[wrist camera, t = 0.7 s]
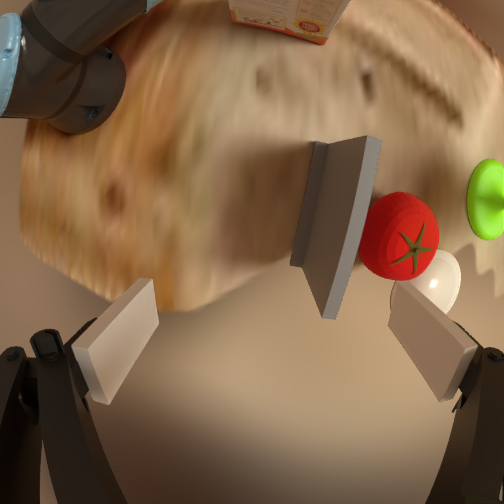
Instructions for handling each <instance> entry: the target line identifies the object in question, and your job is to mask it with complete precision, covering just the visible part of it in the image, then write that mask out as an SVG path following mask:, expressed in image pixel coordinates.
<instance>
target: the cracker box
mask: <svg viewBox="0 0 504 504" xmlns="http://www.w3.org/2000/svg"><path fill="white" fill-rule="evenodd" d="M350 1H351V0H228V3H229V8H230V13H231V18H232V22H236V23H242V24H247V25H252V26H257V27H261V28H266V29H270V30H274V31H278V32H282V33H286V34H289V35H293V36H296V37H300V38H303V39H306V40H309V41H312V42H315V43H318V44H321V45H324V44H325V43H326V41H327V39H328V38H329V36H330V34H331V32H332V31H333V29H334V27H335V26H336V24H337V22H338V21H339V19H340V17H341V16H342V14H343V12H344V11H345V9H346V7H347V6H348V4H349V2H350Z"/></svg>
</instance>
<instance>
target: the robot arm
mask: <svg viewBox="0 0 504 504" xmlns="http://www.w3.org/2000/svg"><path fill="white" fill-rule="evenodd" d="M162 1H163V0H33V1H32V2H30V3H29V5H28V6H27V7H26V8H25V9H24V10H23V11H22V12H21V13H20V14H19V15H18V14H16V13H7V14H4V15H3V16H1V18H0V118H25V119H43V120H45V121H47V122H48V123H49V124H51V125H52V126H54V127H55V128H56V129H58V130H60V131H62V132H65V133H72V134H82V133H86V132H89V131H91V130H93V129H95V128H97V127H98V126H100V125H101V124H102V123H103V122H104V121H105V120H106V119H107V118H108V117H109V116H110V115H111V114H112V112H113V111H114V110H115V108H116V106H117V105H118V103H119V101H120V99H121V96H122V94H123V91H124V87H125V81H126V71H125V66H124V63H123V61H122V59H121V58H120V56H119V55H118V54H116V53H115V52H114V51H112V50H110V49H109V48H107V47H104V46H100V45H101V44H102V43H103V42H105V41H106V40H107V39H109V38H110V37H111V36H112V35H114V34H115V33H116V32H118V31H119V30H121V29H122V28H123V27H125V26H126V25H128V24H129V23H130V22H132V21H133V20H135V19H136V18H138V17H139V16H141V15H142V14H146V13H148V12H149V10H150V9H151V8H152V7H154V6H155V5H157V4H159V3H160V2H162ZM158 324H159V321H158V315H157V308H156V301H155V294H154V287H153V279H150V278H139V279H138V280H137V281H136V282H135V283H134V284H133V285H132V286H131V287H130V288H129V289H127V290H126V291H125V292H124V293H123V294H122V295H121V296H120V297H119V298H118V299H117V300H116V301H115V302H114V303H113V304H112V305H111V306H110V307H109V308H108V309H107V310H106V311H105V312H104V313H103V314H102V315H101V316H100V317H99V318H94V319H92V320H91V321H89V322H87V323H86V324H85V325H84V326H83V327H82V328H81V329H80V330H79V331H78V332H77V333H76V334H75V335H74V336H73V337H72V338H71V339H70V340H69V341H68V342H67V343H66V344H65V345H63V342H62V340H61V337H60V334H59V332H58V331H57V330H55V329H44V330H41V331H39V332H37V333H35V334H34V335H33V336H32V337H31V339H30V343H31V346H32V348H33V351H34V353H35V355H36V358H30V357H27V356H26V353H25V351H24V349H23V348H21V347H17V346H15V347H10V348H7V349H6V350H5V351H4V352H3V353H2V354H1V355H0V504H40V464H41V450H42V440H43V443H44V449H45V454H46V459H47V464H48V468H49V473H50V477H51V481H52V485H53V488H54V492H55V495H56V499H57V502H58V504H128V502H127V500H126V498H125V496H124V494H123V492H122V490H121V488H120V486H119V484H118V482H117V480H116V478H115V476H114V473H113V471H112V469H111V466H110V464H109V462H108V460H107V457H106V455H105V453H104V450H103V447H102V444H101V442H100V439H99V437H98V434H97V431H96V428H95V425H94V422H93V419H92V416H91V412H90V409H89V406H88V402H87V400H86V398H85V395H86V394H87V392H88V391H90V394H91V396H92V398H93V400H94V401H97V402H101V403H104V404H108V405H109V404H110V402H111V401H112V399H113V397H114V396H115V394H116V392H117V391H118V389H119V387H120V385H121V384H122V382H123V381H124V379H125V377H126V376H127V374H128V372H129V370H130V369H131V367H132V366H133V364H134V363H135V361H136V359H137V358H138V356H139V354H140V353H141V351H142V350H143V348H144V346H145V345H146V343H147V341H148V340H149V339H150V337H151V335H152V334H153V332H154V331H155V329H156V328H157V326H158ZM388 327H389V328H390V329H391V331H392V332H393V334H394V335H395V336H396V338H397V339H398V341H399V342H400V344H401V345H402V346H403V348H404V349H405V351H406V352H407V354H408V355H409V357H410V358H411V359H412V361H413V362H414V364H415V365H416V367H417V368H418V370H419V371H420V373H421V374H422V376H423V377H424V379H425V381H426V382H427V384H428V385H429V387H430V388H431V390H432V391H433V393H434V395H435V396H436V398H437V399H438V401H439V402H443V401H447V400H450V399H453V397H454V395H455V393H456V392H457V390H458V388H459V389H460V390H461V392H462V394H461V396H460V398H459V400H458V401H457V403H456V405H455V406H454V408H453V410H452V412H454V411H455V409H457V410H456V415H455V419H454V423H453V427H452V431H451V435H450V438H449V441H448V445H447V448H446V451H445V454H444V457H443V461H442V463H441V466H440V469H439V471H438V474H437V477H436V479H435V482H434V484H433V487H432V489H431V492H430V494H429V496H428V498H427V501H426V503H425V504H504V354H503V352H502V351H500V350H499V349H496V348H492V347H488V348H485V349H484V348H483V347H482V346H481V345H480V344H479V343H478V342H477V341H476V340H475V339H474V338H473V337H472V336H471V335H469V333H468V332H467V331H465V329H464V328H463V327H462V326H461V325H459V324H458V323H456V322H454V321H453V320H451V319H450V318H449V317H448V316H447V315H446V314H445V313H444V312H443V311H441V310H440V309H439V308H438V307H437V306H436V305H435V304H434V303H433V302H431V301H430V300H429V299H428V298H427V297H426V296H425V295H424V294H422V293H421V292H420V291H419V290H418V289H417V288H416V287H414V286H413V285H412V284H411V283H410V282H397V286H396V291H395V296H394V301H393V305H392V310H391V315H390V319H389V323H388ZM501 485H503V496H502V501H500V500H499V494H500V489H501Z"/></svg>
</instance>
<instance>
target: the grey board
mask: <svg viewBox="0 0 504 504" xmlns="http://www.w3.org/2000/svg"><path fill="white" fill-rule="evenodd" d="M381 142H382V140H380V139H377V138H374V137H371V136H362V137H357V138H353V139H348V140H343V141H339V142H335V143H330V144H327V143H323V142H319V141H315V143H314V149H313V154H312V159H311V164H310V170H309V175H308V180H307V185H306V190H305V195H304V200H303V205H302V209H301V214H300V219H299V223H298V228H297V233H296V237H295V242H294V246H293V251H292V255H291V259H290V265H291V266H296V267H302V269H303V271H304V274H305V276H306V279H307V281H308V284H309V286H310V289H311V291H312V294H313V296H314V298H315V301H316V304H317V306H318V309H319V312H320V314H321V316H322V318H327V319H336V317H337V314H338V311H339V308H340V305H341V302H342V299H343V296H344V293H345V290H346V287H347V284H348V281H349V277H350V274H351V271H352V268H353V264H354V261H355V257H356V254H357V250H358V247H359V243H360V239H361V236H362V232H363V228H364V224H365V220H366V216H367V212H368V207H369V203H370V199H371V194H372V190H373V185H374V180H375V175H376V170H377V165H378V160H379V154H380V148H381Z"/></svg>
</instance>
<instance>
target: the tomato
mask: <svg viewBox="0 0 504 504" xmlns="http://www.w3.org/2000/svg"><path fill="white" fill-rule="evenodd" d="M438 243H439V229H438V224H437V221H436V219H435V217H434V215H433V213H432V211H431V210H430V208H429V207H428V206H427V205H426V204H425V203H424V202H422V201H421V200H419V199H418V198H417V197H415V196H413V195H411V194H409V193H404V192H394V193H391V194H388V195H385V196H383V197H382V198H380V199H379V200H377V201H376V202H375V203H374V204H373V205H372V206H371V207H370V209H369V210H368V212H367V216H366V220H365V224H364V228H363V232H362V236H361V239H360V243H359V247H358V250H359V254H360V258H361V260H362V262H363V263H364V265H365V266H366V267H367V268H368V269H369V270H371V271H372V272H373V273H374V274H376V275H378V276H380V277H383V278H386V279H391V280H397V281H406V280H411V279H413V278H416V277H418V276H419V275H420V274H422V273H423V272H424V271H425V270H426V269H427V267H428V266H429V264H430V263H431V261H432V260H433V258H434V256H435V253H436V251H437V248H438Z"/></svg>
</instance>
